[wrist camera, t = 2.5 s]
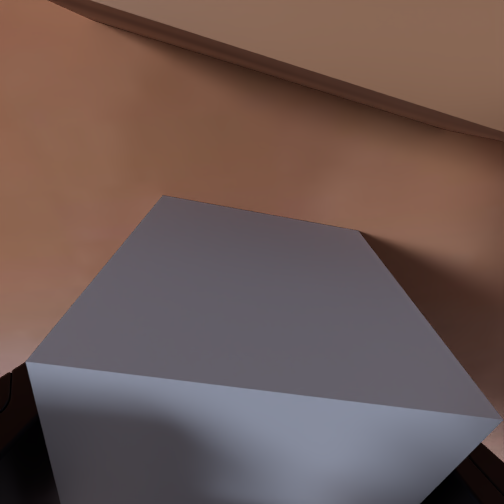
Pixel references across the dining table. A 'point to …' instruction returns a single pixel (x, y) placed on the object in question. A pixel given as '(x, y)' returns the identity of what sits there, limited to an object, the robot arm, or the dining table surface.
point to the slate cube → (250, 371)
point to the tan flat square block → (346, 49)
